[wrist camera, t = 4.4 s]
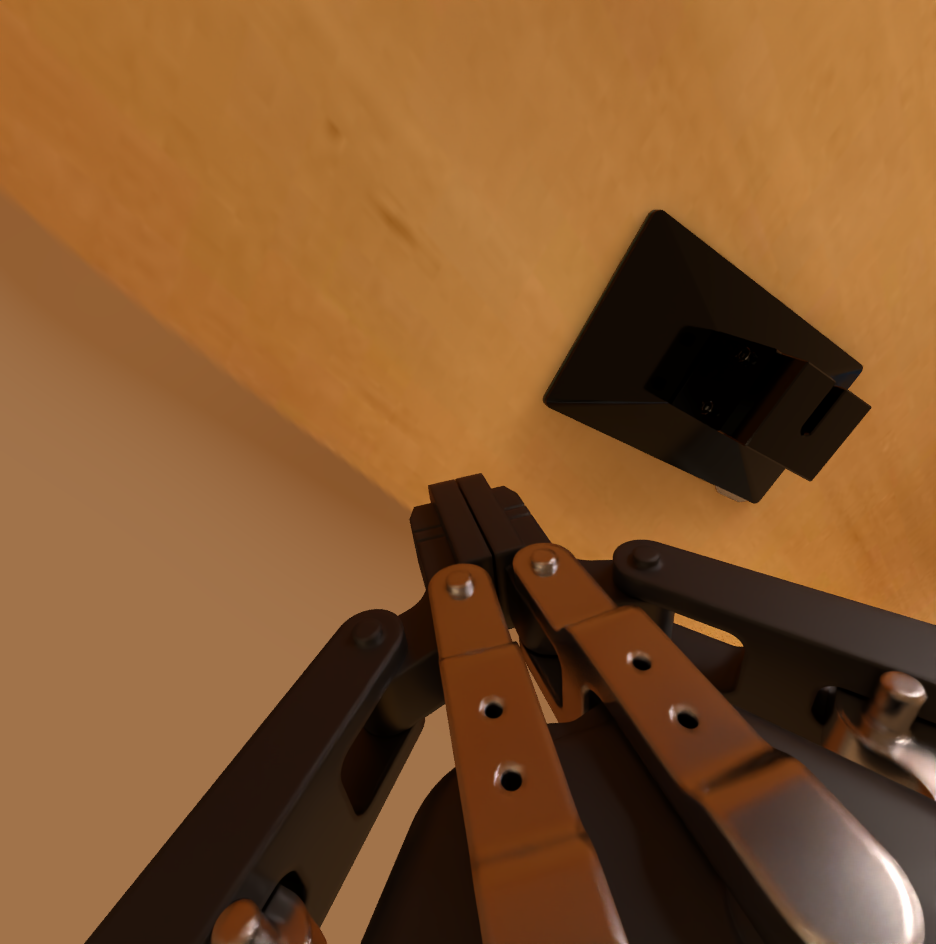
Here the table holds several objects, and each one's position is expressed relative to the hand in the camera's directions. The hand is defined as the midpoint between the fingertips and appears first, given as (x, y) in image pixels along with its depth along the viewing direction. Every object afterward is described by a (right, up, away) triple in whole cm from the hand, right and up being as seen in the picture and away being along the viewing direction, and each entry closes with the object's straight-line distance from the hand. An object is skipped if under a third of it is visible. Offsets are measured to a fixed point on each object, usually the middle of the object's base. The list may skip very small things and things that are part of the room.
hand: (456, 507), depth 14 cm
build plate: (+10, +5, +6) cm, 12 cm away
